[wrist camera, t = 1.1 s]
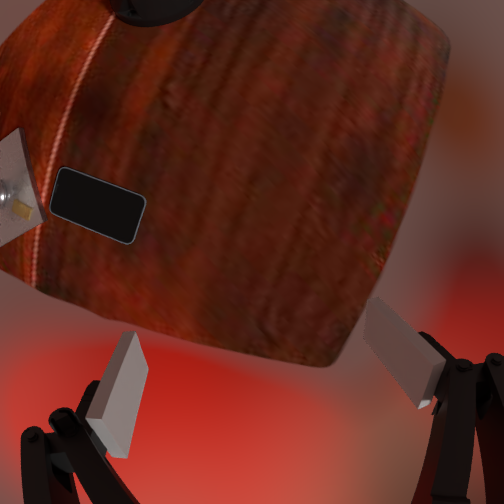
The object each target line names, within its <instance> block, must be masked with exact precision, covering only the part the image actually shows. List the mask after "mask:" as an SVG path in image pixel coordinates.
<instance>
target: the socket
mask: <svg viewBox="0 0 504 504" xmlns="http://www.w3.org/2000/svg"><path fill="white" fill-rule="evenodd" d="M47 220H48V219H47V216H46V213H45V210H44V207H43V204H42V201H41V197H40V194H39V191H38V187H37V184H36V180H35V176H34V173H33V169H32V165H31V161H30V156H29V152H28V147H27V143H26V138H25V133H24V128H17V129H16V130H15V131H13V132H12V133H11V134H9V135H8V136H7V137H5V138H4V139H3V140H2V141H0V247H2V246H3V245H5V244H7V243H8V242H10V241H12V240H13V239H15V238H17V237H18V236H20V235H22V234H24V233H25V232H27V231H29V230H31V229H33V228H34V227H36V226H38V225H40V224H42V223H43V222H45V221H47Z"/></svg>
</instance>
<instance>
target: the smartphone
mask: <svg viewBox="0 0 504 504" xmlns="http://www.w3.org/2000/svg"><path fill="white" fill-rule="evenodd" d="M145 206H146V199H145V197H144V196H142V195H140V194H138V193H135V192H133V191H130V190H127V189H125V188H122V187H119V186H117V185H114V184H111V183H109V182H106V181H103V180H101V179H98V178H95V177H93V176H91V175H88V174H85V173H83V172H79V171H77V170H74V169H71V168H68V167H63V168H61V169H60V170H59V172H58V175H57V179H56V182H55V186H54V190H53V194H52V198H51V202H50V211H51V213H52V214H54V215H56V216H58V217H61V218H63V219H65V220H68V221H70V222H73V223H75V224H77V225H80V226H82V227H84V228H87V229H89V230H92V231H94V232H97V233H99V234H101V235H104V236H106V237H109V238H111V239H114V240H116V241H119V242H121V243H124V244H131V243H132V242H133V241H134V239H135V236H136V233H137V230H138V227H139V223H140V220H141V218H142V215H143V212H144V209H145Z"/></svg>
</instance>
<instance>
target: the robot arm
mask: <svg viewBox="0 0 504 504" xmlns="http://www.w3.org/2000/svg"><path fill="white" fill-rule="evenodd" d="M202 2H203V0H110V4H111V7H112V9H113V10H114V12H115V13H116V15H117V16H118V17H119V18H120V19H121V20H122V21H123V22H125V23H127V24H130V25H133V26H139V27H153V26H160V25H164V24H168V23H171V22H174V21H176V20H179V19H181V18H183V17H185V16H186V15H188V14H190V13H191V12H192V11H194V10H195V9H196V8H197V7H198V6H199V5H200V4H201V3H202ZM364 340H365V341H366V342H367V344H368V345H369V346H370V347H371V349H372V350H373V351H374V353H375V354H376V355H377V356H378V358H379V359H380V360H381V361H382V363H383V364H384V365H385V367H386V368H387V369H388V371H389V372H390V373H391V374H392V376H393V377H394V378H395V380H396V381H397V382H398V384H399V385H400V386H401V387H402V389H403V390H404V391H405V393H406V394H407V395H408V397H409V398H410V399H411V401H412V402H413V403H414V405H415V406H416V407H417V409H420V408H422V407H424V406H426V405H429V404H430V403H431V401H432V398H433V396H435V397H436V398H437V399H438V401H437V403H436V405H435V407H434V410H433V412H432V415H434V418H433V423H432V429H431V434H430V439H429V443H428V447H427V451H426V456H425V459H424V463H423V467H422V471H421V474H420V478H419V481H418V484H417V488H416V491H415V493H414V496H413V499H412V502H411V504H470V499H467V497H466V494H467V489H468V483H469V477H470V471H471V464H472V456H473V447H474V435H475V427H476V431H477V436H478V442H479V447H480V452H481V459H482V466H483V474H484V482H485V492H486V504H504V356H502V355H501V354H498V353H491V354H489V355H487V357H486V359H485V362H484V363H479V364H473V363H472V362H471V361H469V360H466V359H455V358H454V357H453V356H452V355H451V354H450V353H449V352H448V351H447V350H446V349H445V348H444V347H443V346H441V345H440V344H439V343H438V342H436V340H435V339H434V338H433V337H431V336H430V335H429V334H427V333H425V332H418V333H417V332H416V331H415V330H414V329H413V328H412V327H411V326H410V325H409V324H408V323H407V322H406V321H404V320H403V319H402V318H401V317H400V316H399V315H398V314H397V313H396V312H395V311H393V310H392V309H391V308H390V307H389V306H388V305H387V304H386V303H385V302H383V301H382V300H381V299H380V298H379V297H376V298H371V299H367V308H366V319H365V329H364ZM147 374H148V367H147V364H146V361H145V358H144V355H143V352H142V349H141V346H140V343H139V340H138V337H137V334H136V331H130V332H123V333H122V336H121V338H120V340H119V342H118V344H117V346H116V348H115V350H114V352H113V355H112V357H111V359H110V361H109V364H108V366H107V368H106V370H105V372H104V374H103V377H102V379H101V381H98V380H93V381H92V382H91V383H90V384H89V385H88V387H87V388H86V390H85V392H84V396H82V399H81V401H80V403H79V405H78V407H77V410H76V412H75V413H74V411H73V410H72V409H70V408H64V407H63V408H59V409H57V410H55V411H54V412H52V414H51V415H50V417H49V420H48V421H49V425H50V426H51V427H52V429H53V430H54V432H53V433H44V432H43V430H41V428H39V427H37V426H32V427H29V428H27V429H26V430H24V432H23V433H22V435H21V475H22V488H23V498H24V504H80V502H79V498H78V494H77V490H76V486H75V481H74V477H73V472H75V473H76V475H77V477H78V479H79V481H80V483H81V484H82V486H83V488H84V490H85V492H86V493H87V495H88V497H89V498H90V500H91V502H92V503H93V504H140V503H139V502H138V501H137V499H136V498H135V497H134V496H133V494H132V493H131V492H130V490H129V489H128V488H127V487H126V485H125V484H124V482H123V481H122V480H121V478H120V477H119V476H118V474H117V473H116V471H115V470H114V469H113V467H112V466H111V464H110V463H109V461H108V460H107V459H106V457H105V455H106V451H108V452H109V453H110V455H111V456H112V457H118V458H127V457H128V453H129V448H130V444H131V439H132V435H133V430H134V425H135V421H136V417H137V413H138V408H139V405H140V401H141V397H142V393H143V389H144V385H145V381H146V378H147Z"/></svg>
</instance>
